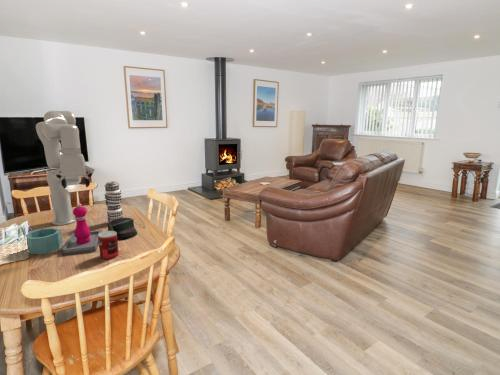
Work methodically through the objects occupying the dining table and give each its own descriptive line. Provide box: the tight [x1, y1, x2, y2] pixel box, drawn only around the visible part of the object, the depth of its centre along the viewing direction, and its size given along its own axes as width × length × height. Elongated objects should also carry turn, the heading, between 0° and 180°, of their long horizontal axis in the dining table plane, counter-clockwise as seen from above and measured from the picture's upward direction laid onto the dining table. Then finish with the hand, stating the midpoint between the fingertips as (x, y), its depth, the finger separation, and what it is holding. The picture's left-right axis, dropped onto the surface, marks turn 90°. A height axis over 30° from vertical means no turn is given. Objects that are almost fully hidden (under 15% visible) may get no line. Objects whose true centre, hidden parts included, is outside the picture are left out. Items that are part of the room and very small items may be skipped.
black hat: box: [106, 216, 138, 242], centre depth 165 cm, size 20×20×9 cm
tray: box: [61, 229, 103, 256], centre depth 154 cm, size 22×14×3 cm, turn 18°
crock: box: [25, 227, 63, 256], centre depth 148 cm, size 14×14×8 cm
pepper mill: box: [72, 203, 92, 244], centre depth 152 cm, size 7×7×20 cm
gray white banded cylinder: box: [104, 181, 124, 224], centre depth 182 cm, size 9×9×25 cm
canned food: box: [98, 230, 120, 260], centre depth 140 cm, size 8×8×11 cm
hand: (76, 187), depth 147 cm, fingers open, 9 cm apart
